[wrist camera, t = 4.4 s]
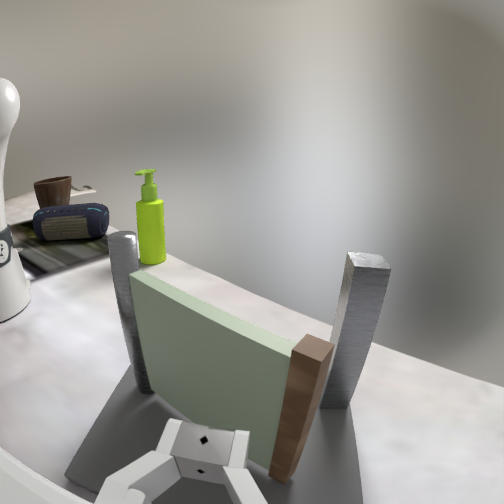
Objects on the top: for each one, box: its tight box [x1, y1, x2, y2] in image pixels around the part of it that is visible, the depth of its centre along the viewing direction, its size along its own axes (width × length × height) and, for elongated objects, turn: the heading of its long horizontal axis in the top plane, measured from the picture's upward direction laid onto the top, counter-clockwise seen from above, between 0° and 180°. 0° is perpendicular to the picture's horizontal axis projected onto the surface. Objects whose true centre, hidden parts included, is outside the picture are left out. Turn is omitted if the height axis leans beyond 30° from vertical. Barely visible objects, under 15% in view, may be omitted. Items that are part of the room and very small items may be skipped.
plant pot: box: [34, 176, 71, 209], centre depth 87 cm, size 15×15×16 cm
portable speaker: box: [33, 203, 109, 241], centre depth 73 cm, size 25×10×10 cm, turn 103°
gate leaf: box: [129, 270, 335, 485], centre depth 20 cm, size 16×2×14 cm, turn 54°
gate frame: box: [64, 231, 391, 504], centre depth 21 cm, size 25×20×18 cm
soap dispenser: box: [135, 169, 166, 265], centre depth 60 cm, size 6×7×20 cm
